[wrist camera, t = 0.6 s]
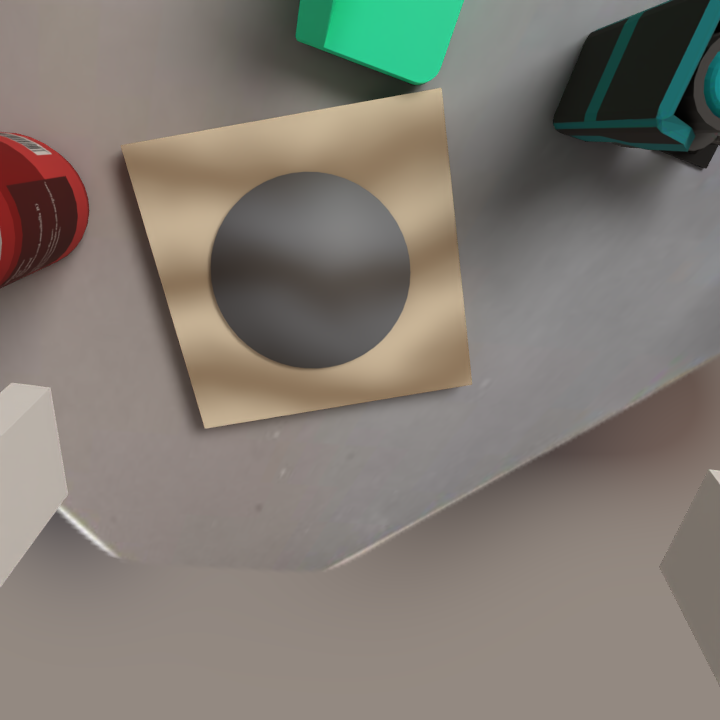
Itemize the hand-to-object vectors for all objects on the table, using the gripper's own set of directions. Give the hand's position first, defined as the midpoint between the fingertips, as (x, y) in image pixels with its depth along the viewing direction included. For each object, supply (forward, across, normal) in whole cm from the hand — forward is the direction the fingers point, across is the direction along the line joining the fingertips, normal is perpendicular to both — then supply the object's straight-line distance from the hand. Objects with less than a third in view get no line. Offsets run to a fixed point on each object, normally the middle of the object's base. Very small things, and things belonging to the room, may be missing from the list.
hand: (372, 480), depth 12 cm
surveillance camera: (+29, +14, +6) cm, 33 cm away
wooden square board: (+26, -4, -5) cm, 26 cm away
